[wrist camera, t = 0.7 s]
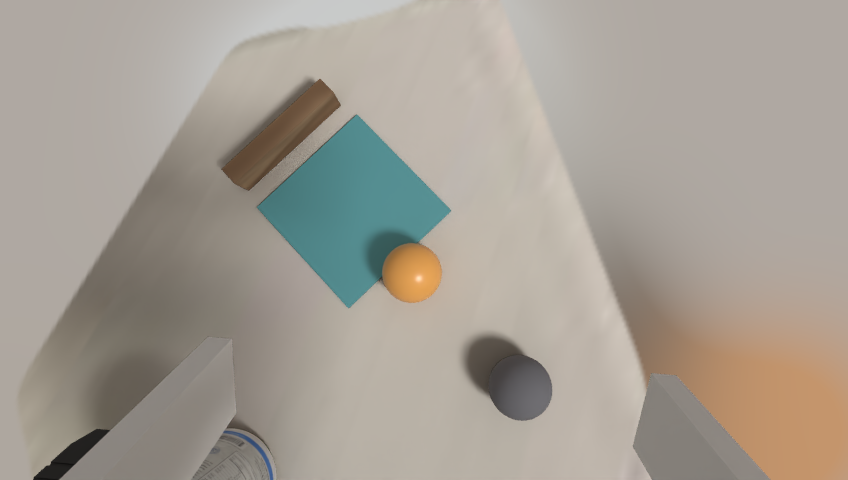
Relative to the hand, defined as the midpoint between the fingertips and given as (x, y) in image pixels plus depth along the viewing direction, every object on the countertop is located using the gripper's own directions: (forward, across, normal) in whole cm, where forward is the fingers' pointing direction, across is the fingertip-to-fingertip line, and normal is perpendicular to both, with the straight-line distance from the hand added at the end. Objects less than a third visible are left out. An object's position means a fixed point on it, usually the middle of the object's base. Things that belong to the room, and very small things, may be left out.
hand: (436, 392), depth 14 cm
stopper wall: (+34, +16, -5) cm, 38 cm away
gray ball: (+22, -8, +14) cm, 27 cm away
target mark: (+31, +9, +2) cm, 32 cm away
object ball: (+26, +2, +6) cm, 26 cm away
